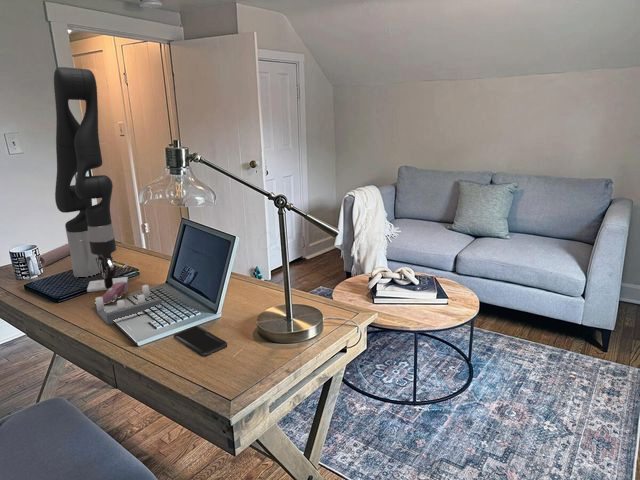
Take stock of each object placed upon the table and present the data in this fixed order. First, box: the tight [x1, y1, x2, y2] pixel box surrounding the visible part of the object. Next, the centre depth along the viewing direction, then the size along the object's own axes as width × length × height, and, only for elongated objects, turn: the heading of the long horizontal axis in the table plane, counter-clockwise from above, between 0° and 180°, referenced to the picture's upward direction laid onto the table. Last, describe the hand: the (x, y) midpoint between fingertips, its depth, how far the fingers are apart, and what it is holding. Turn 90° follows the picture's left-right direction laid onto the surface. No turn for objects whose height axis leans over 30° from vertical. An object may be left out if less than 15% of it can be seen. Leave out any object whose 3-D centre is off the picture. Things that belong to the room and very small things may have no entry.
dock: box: [94, 284, 162, 326], centre depth 139 cm, size 10×16×5 cm, turn 132°
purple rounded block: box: [101, 281, 130, 304], centre depth 147 cm, size 10×5×7 cm, turn 168°
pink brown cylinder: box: [39, 243, 70, 268], centre depth 186 cm, size 5×5×18 cm
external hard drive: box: [86, 276, 129, 293], centre depth 160 cm, size 2×8×12 cm
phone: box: [173, 325, 228, 358], centre depth 121 cm, size 8×1×15 cm
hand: (109, 287), depth 152 cm, fingers closed
